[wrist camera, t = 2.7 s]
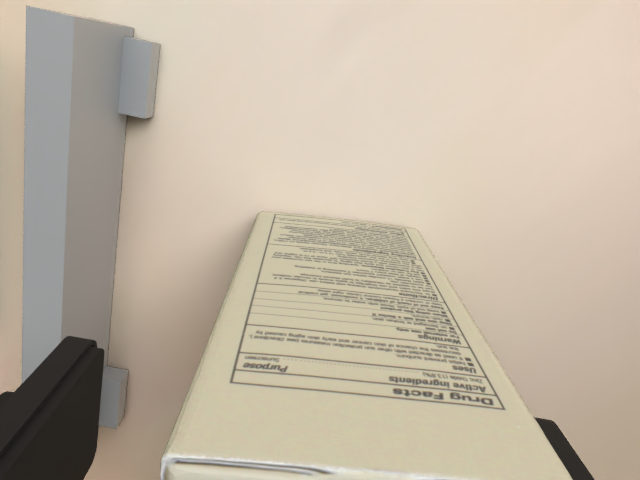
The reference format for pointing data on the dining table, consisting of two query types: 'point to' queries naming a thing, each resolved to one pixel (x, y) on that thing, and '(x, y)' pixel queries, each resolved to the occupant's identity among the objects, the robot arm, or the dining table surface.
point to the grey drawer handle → (77, 180)
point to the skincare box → (350, 369)
